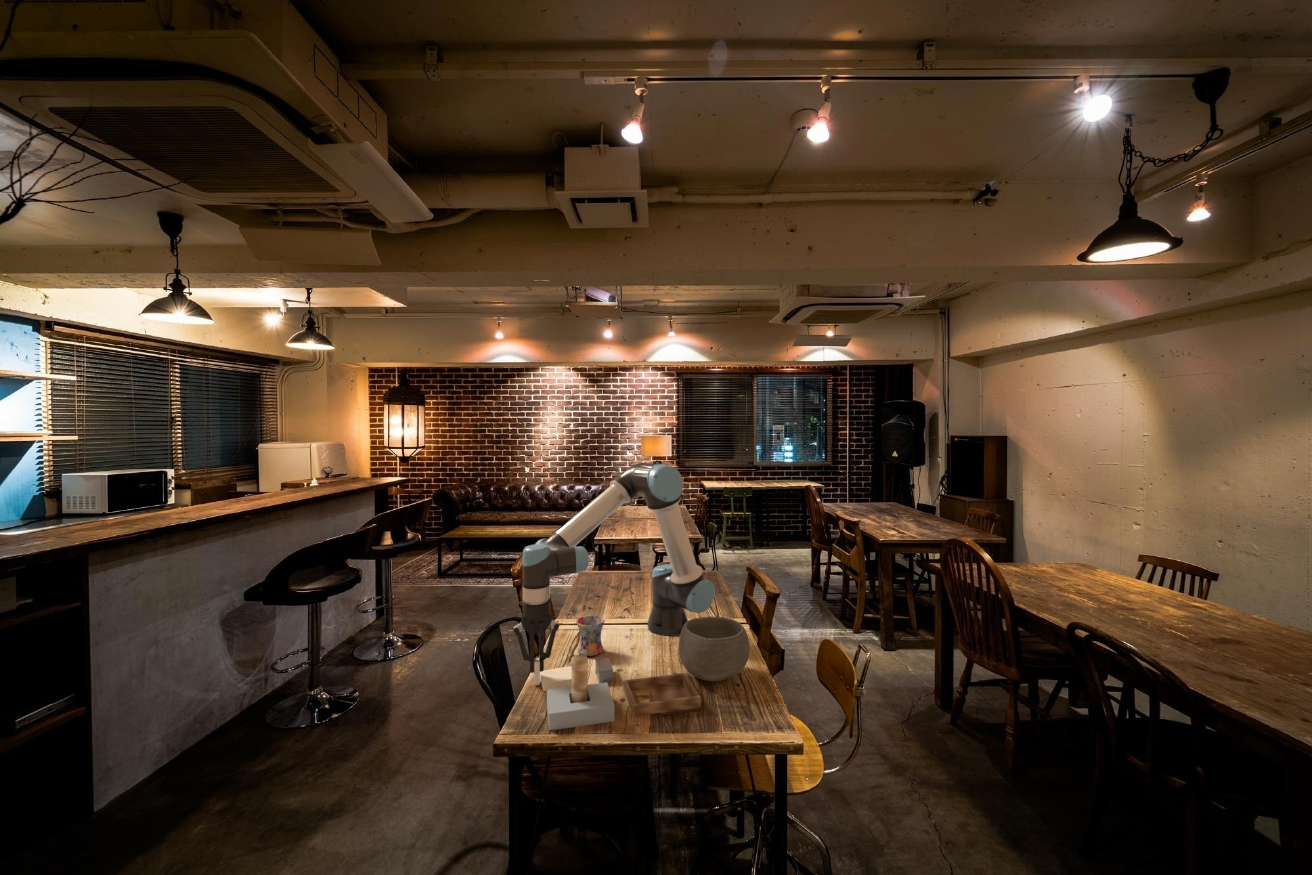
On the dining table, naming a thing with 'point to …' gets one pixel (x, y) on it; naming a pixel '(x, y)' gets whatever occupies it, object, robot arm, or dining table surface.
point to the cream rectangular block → (556, 678)
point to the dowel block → (579, 707)
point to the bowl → (713, 648)
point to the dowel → (579, 678)
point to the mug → (590, 635)
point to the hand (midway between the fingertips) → (537, 682)
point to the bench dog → (604, 670)
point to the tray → (664, 695)
